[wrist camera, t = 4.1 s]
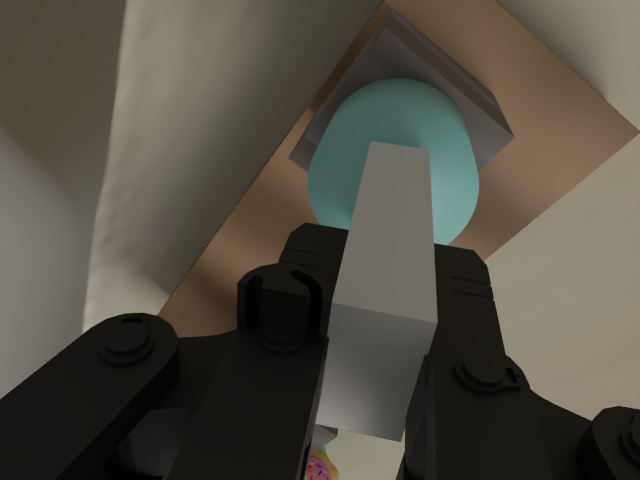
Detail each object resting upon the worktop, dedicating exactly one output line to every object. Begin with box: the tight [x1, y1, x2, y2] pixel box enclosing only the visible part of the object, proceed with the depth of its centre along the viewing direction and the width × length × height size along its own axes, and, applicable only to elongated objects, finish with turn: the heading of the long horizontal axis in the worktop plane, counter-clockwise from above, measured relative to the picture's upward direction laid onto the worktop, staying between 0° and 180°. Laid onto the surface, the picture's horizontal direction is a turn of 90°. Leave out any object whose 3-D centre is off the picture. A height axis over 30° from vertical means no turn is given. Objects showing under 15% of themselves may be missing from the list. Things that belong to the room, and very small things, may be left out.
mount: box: [157, 0, 640, 455], centre depth 24 cm, size 26×11×9 cm, turn 144°
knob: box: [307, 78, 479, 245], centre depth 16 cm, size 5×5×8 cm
